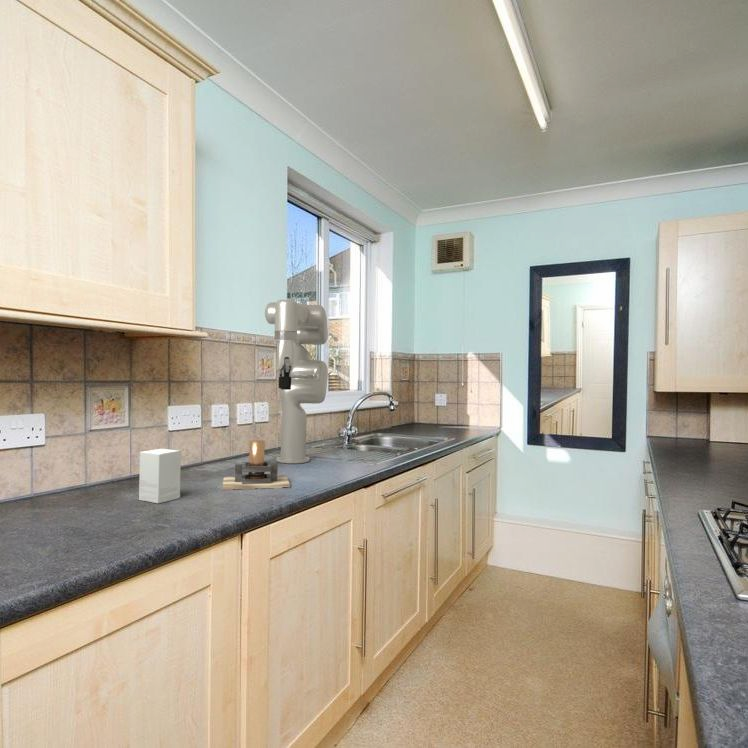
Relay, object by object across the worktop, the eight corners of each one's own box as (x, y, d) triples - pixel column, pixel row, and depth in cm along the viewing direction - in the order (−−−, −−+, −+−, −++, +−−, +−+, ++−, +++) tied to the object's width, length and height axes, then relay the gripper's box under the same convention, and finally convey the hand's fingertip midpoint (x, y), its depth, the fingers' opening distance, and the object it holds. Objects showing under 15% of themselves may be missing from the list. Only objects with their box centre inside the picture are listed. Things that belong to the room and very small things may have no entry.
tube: (248, 479, 153) (248, 440, 153) (263, 478, 154) (264, 439, 154) (248, 482, 148) (249, 442, 148) (264, 482, 150) (265, 441, 150)
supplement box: (181, 498, 133) (182, 450, 133) (157, 504, 126) (158, 454, 126) (161, 494, 136) (162, 447, 136) (137, 500, 130) (138, 451, 130)
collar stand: (223, 480, 155) (224, 461, 155) (285, 478, 160) (286, 459, 160) (222, 490, 143) (222, 469, 143) (290, 487, 148) (290, 467, 148)
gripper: (272, 338, 174) (271, 387, 175) (276, 335, 158) (274, 389, 158) (294, 339, 176) (293, 388, 176) (300, 336, 160) (298, 390, 160)
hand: (284, 388), depth 167 cm, fingers open, 9 cm apart
